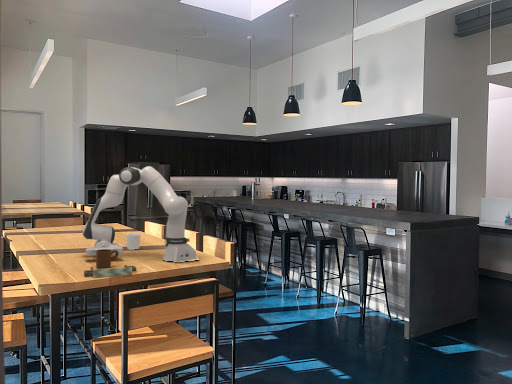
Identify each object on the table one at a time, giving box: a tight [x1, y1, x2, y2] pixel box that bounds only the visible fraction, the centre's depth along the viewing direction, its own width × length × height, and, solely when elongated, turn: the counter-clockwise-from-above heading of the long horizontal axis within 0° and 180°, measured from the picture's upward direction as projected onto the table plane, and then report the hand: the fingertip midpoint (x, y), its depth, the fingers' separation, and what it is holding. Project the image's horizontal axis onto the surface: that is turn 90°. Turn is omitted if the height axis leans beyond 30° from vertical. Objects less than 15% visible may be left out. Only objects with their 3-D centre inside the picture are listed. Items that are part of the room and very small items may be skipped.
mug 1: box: [95, 249, 120, 269], centre depth 225 cm, size 12×8×9 cm, turn 130°
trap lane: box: [83, 264, 137, 279], centre depth 212 cm, size 26×17×4 cm, turn 116°
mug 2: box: [124, 232, 142, 251], centre depth 283 cm, size 11×9×10 cm
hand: (106, 253), depth 234 cm, fingers closed
